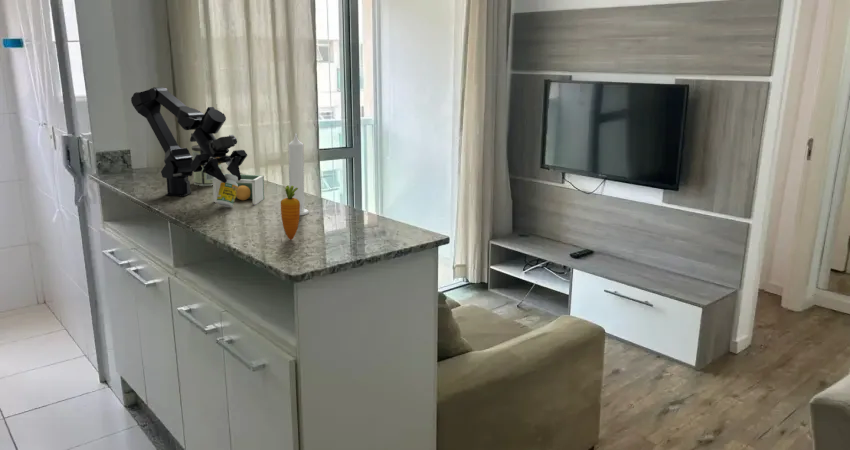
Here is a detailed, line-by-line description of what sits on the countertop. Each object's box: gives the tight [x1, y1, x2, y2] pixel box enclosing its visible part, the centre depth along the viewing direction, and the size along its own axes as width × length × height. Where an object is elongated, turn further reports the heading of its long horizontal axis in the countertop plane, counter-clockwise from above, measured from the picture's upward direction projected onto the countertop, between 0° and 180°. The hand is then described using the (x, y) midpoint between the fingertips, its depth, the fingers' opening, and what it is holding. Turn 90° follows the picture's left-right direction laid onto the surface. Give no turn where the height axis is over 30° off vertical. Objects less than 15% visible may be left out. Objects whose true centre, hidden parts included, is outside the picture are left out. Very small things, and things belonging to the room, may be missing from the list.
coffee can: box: [191, 144, 222, 187], centre depth 234 cm, size 10×10×14 cm
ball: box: [236, 185, 251, 201], centre depth 210 cm, size 5×5×5 cm
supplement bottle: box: [216, 173, 238, 208], centre depth 199 cm, size 5×5×10 cm
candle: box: [288, 132, 309, 216], centre depth 192 cm, size 7×7×25 cm
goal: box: [212, 173, 265, 205], centre depth 209 cm, size 14×9×8 cm, turn 87°
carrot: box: [280, 184, 301, 241], centre depth 164 cm, size 5×5×15 cm
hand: (233, 180), depth 198 cm, fingers closed on supplement bottle, 5 cm apart
